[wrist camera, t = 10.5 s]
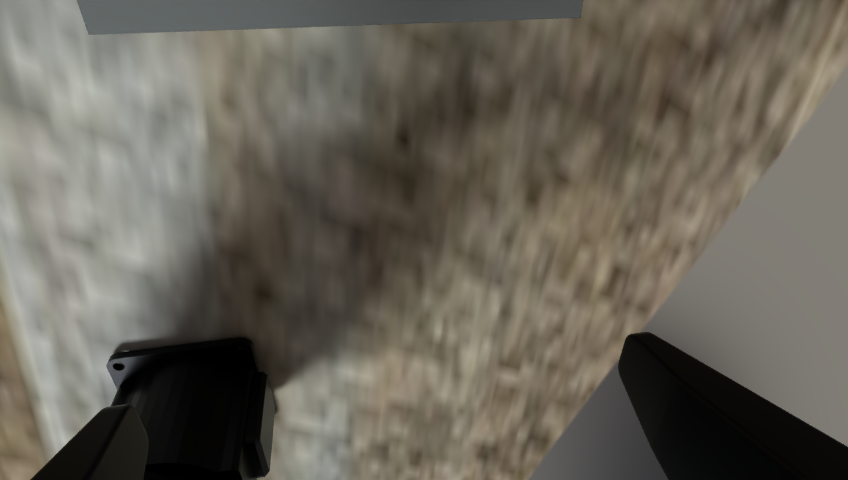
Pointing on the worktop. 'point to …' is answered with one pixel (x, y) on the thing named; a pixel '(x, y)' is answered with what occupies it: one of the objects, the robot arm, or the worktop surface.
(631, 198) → the worktop surface
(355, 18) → the keyhole plate
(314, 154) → the worktop surface
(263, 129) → the worktop surface
